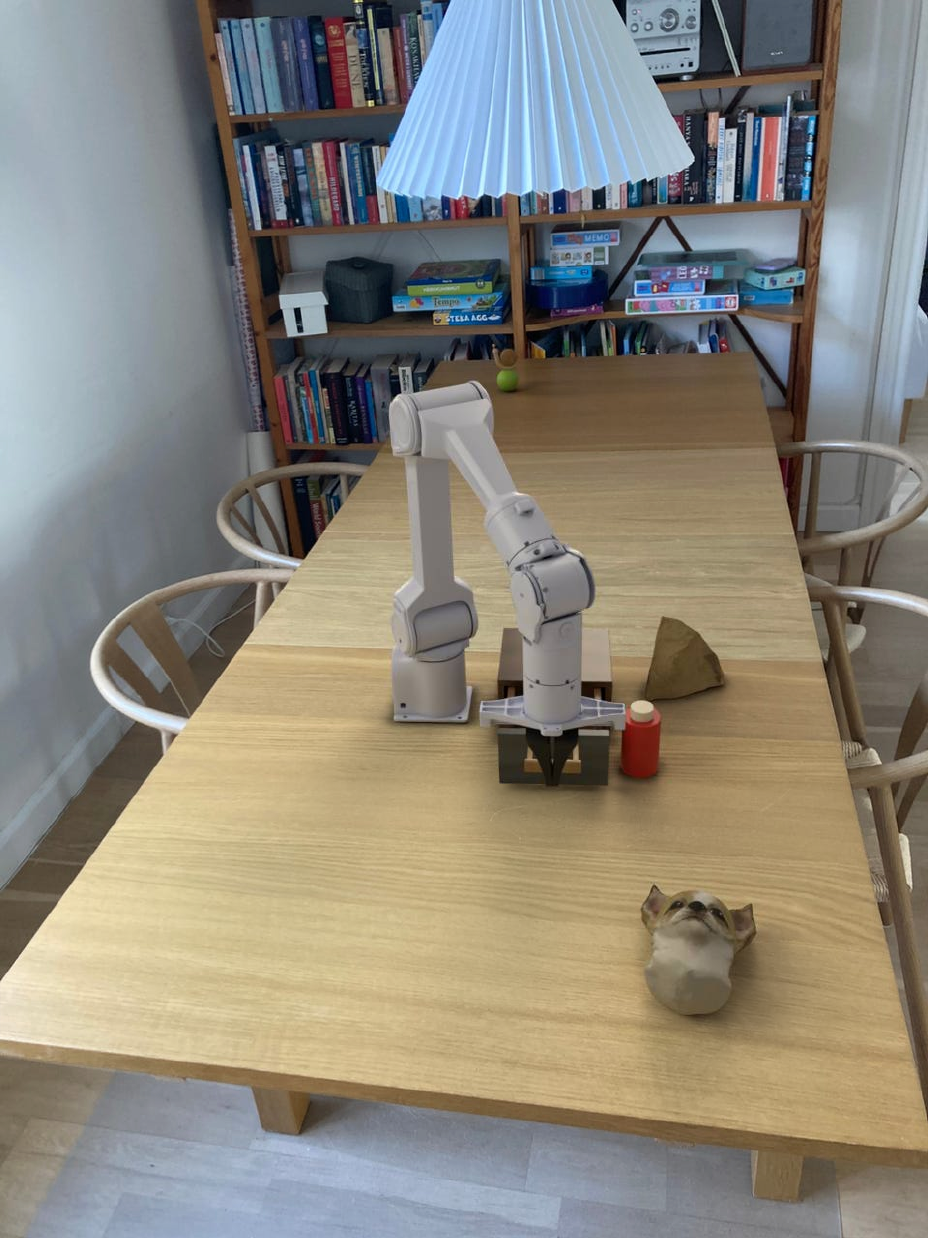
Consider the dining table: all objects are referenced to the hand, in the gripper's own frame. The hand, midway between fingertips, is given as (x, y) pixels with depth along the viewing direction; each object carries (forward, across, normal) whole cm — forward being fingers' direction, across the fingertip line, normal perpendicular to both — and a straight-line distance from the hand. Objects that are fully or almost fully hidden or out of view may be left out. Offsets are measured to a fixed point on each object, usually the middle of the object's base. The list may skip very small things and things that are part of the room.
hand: (552, 780), depth 106 cm
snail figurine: (+7, -14, +164) cm, 165 cm away
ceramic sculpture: (+8, +13, -18) cm, 23 cm away
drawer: (+7, 0, +11) cm, 13 cm away
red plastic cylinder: (+7, +10, +12) cm, 18 cm away
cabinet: (+7, 0, +23) cm, 25 cm away
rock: (+8, +17, +29) cm, 35 cm away
